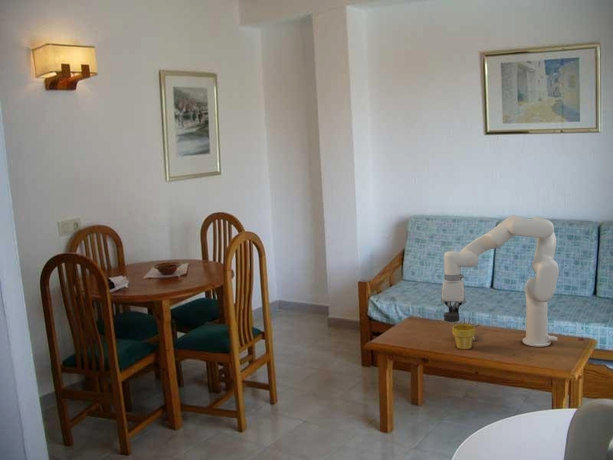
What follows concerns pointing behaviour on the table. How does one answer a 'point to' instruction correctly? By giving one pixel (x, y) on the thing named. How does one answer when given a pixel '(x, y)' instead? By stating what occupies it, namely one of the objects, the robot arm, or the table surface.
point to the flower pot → (463, 335)
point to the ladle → (451, 315)
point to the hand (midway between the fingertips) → (453, 315)
